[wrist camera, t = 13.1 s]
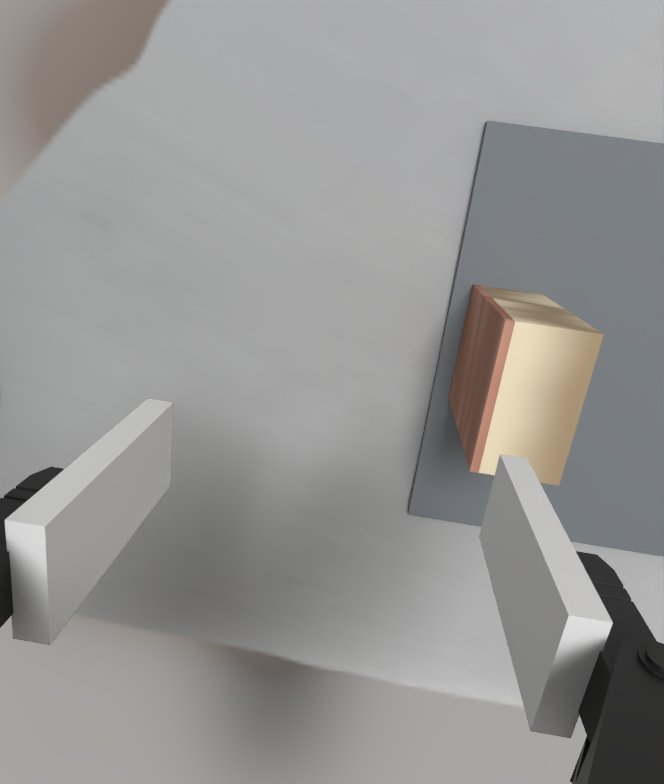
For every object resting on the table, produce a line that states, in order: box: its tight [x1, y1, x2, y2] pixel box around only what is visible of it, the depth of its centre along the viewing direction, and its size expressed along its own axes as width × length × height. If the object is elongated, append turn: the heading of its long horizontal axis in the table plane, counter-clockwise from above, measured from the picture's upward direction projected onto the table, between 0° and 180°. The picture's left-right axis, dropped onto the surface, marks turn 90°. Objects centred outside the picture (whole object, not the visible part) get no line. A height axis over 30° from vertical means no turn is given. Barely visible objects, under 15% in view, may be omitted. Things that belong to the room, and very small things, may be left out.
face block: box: [449, 284, 604, 486], centre depth 29 cm, size 4×7×10 cm, turn 172°
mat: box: [408, 121, 664, 556], centre depth 34 cm, size 18×24×1 cm
